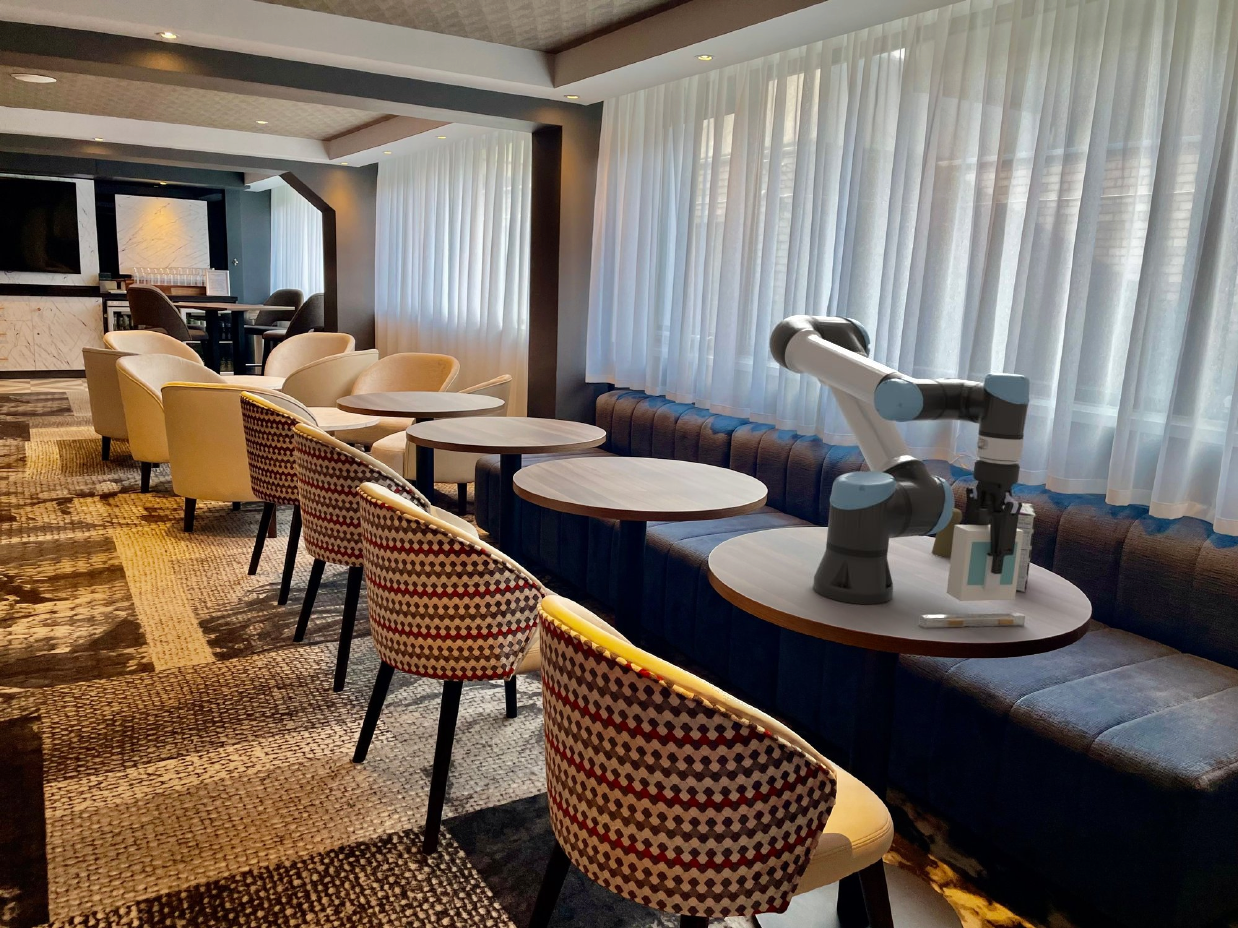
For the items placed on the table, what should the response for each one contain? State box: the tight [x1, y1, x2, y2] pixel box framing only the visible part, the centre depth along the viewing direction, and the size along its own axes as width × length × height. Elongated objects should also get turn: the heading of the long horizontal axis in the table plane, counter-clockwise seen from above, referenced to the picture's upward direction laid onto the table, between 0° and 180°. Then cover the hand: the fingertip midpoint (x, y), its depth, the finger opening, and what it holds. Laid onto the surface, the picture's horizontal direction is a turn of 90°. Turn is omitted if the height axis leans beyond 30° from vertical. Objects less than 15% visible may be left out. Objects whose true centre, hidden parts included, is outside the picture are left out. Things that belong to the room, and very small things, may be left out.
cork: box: [931, 507, 963, 559], centre depth 209 cm, size 6×6×11 cm
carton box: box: [946, 524, 1024, 602], centre depth 165 cm, size 5×11×13 cm, turn 101°
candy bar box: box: [1016, 502, 1037, 593], centre depth 188 cm, size 11×5×16 cm, turn 160°
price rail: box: [918, 612, 1026, 629], centre depth 161 cm, size 20×2×2 cm, turn 102°
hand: (982, 584), depth 166 cm, fingers closed on carton box, 5 cm apart
